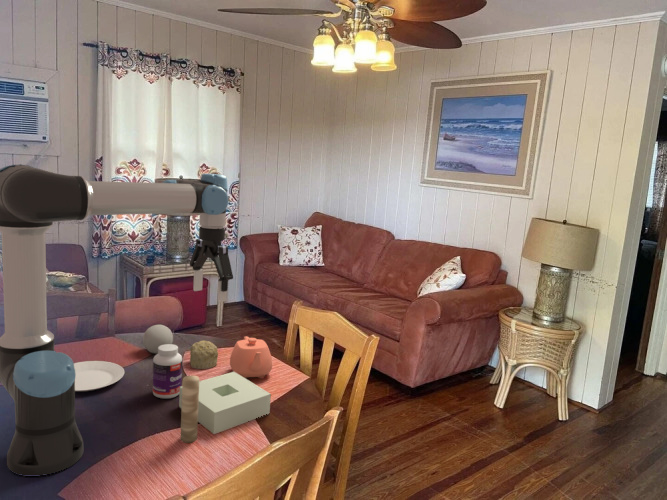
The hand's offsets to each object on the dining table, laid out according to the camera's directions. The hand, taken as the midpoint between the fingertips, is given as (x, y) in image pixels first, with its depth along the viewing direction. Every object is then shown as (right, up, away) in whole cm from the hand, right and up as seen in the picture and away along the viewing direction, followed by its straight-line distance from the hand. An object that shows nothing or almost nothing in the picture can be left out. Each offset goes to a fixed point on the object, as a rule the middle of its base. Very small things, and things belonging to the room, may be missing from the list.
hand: (209, 295), depth 155 cm
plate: (-37, -26, -1) cm, 45 cm away
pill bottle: (-11, -29, -5) cm, 31 cm away
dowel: (+1, -33, -27) cm, 43 cm away
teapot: (+10, -27, +13) cm, 32 cm away
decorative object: (-7, -25, +19) cm, 32 cm away
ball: (-24, -22, +25) cm, 41 cm away
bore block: (+7, -31, -11) cm, 34 cm away
